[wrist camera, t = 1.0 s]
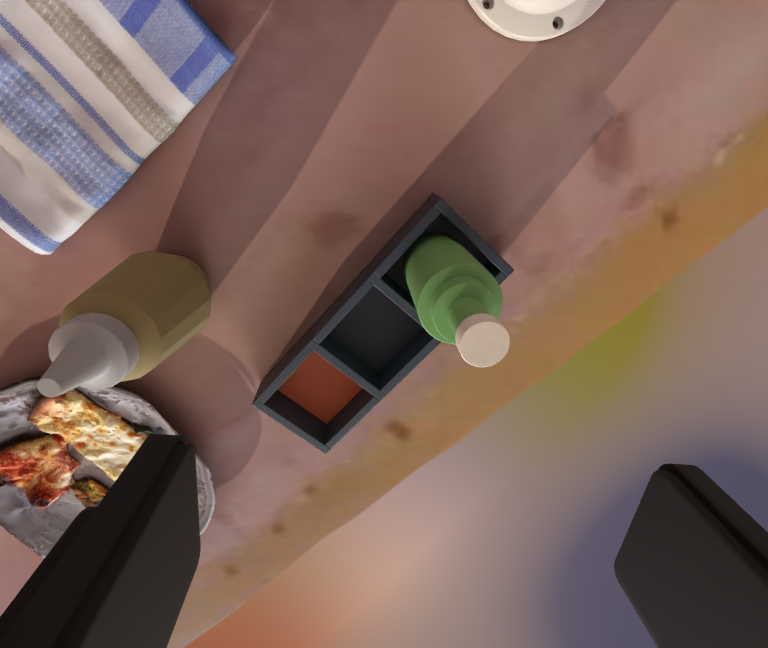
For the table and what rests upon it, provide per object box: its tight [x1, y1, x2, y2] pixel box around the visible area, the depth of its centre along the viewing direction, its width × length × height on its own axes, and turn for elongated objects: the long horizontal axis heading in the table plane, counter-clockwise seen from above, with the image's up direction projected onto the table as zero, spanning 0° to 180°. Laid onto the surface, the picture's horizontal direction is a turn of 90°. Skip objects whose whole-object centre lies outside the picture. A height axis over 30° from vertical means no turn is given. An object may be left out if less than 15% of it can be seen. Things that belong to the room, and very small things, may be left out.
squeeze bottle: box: [37, 251, 211, 398], centre depth 31 cm, size 8×8×18 cm
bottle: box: [403, 232, 510, 367], centre depth 32 cm, size 6×6×17 cm
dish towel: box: [0, 0, 237, 254], centre depth 32 cm, size 17×24×3 cm
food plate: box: [0, 376, 215, 558], centre depth 45 cm, size 25×23×4 cm
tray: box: [252, 193, 514, 454], centre depth 40 cm, size 25×9×4 cm, turn 138°
